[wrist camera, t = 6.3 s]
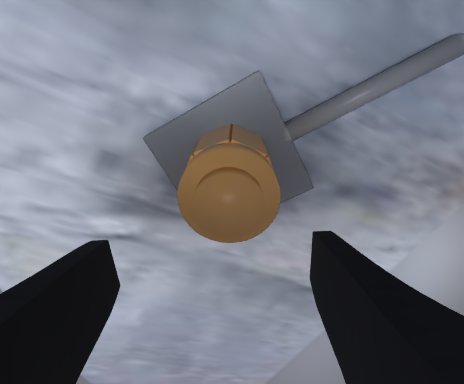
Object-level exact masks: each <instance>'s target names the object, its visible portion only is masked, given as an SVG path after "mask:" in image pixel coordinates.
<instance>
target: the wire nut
mask: <svg viewBox="0 0 464 384" xmlns="http://www.w3.org/2000/svg"><path fill="white" fill-rule="evenodd" d="M178 205H179V208H180V211H181V213H182V216H183V217H184V219H185V221H186V222H187V223H188V224H189V226H190V227H191V228H192V229H193V230H195V231H196V232H197V233H199V234H200V235H202V236H204V237H206V238H208V239H211V240H214V241H218V242H224V243H235V242H242V241H245V240H248V239H251V238H253V237H255V236H257V235H259V234H260V233H262V232H263V231H264V230H265V229H266V228H268V226H269V225H270V224H271V223H272V221H273V220H274V218H275V216H276V214H277V212H278V209H279V205H280V186H279V184H278V181H277V178H276V175H275V172H274V169H273V167H272V164H271V161H270V158H269V155H268V152H267V150H266V147H265V144H264V141H263V138H261V136H260V135H258V134H256V133H253V132H251V131H249V130H247V129H244V128H242V127H240V126H238V125H235V124H233V125H232V127H231V124H228V125H225V126H223V127H220V128H218V129H215V130H213V131H210V132H208V133H205V134H203V135H202V137H200V139H199V141H198V143H197V145H196V147H195V148H194V150H193V152H192V154H191V156H190V159H189V162H188V164H187V167H186V169H185V171H184V173H183V176H182V178H181V180H180V183H179V186H178Z"/></svg>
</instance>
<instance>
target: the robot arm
mask: <svg viewBox="0 0 464 384" xmlns="http://www.w3.org/2000/svg"><path fill="white" fill-rule="evenodd" d="M310 282H311V286H312V290H313V294H314V298H315V302H316V306H317V308H318V311H319V314H320V316H321V319H322V322H323V324H324V327H325V330H326V332H327V335H328V337H329V340H330V342H331V345H332V348H333V350H334V353H335V355H336V358H337V360H338V363H339V366H340V368H341V371H342V373H343V376H344V379H345V383H346V384H464V316H463V315H461V314H459V313H457V312H455V311H453V310H451V309H449V308H447V307H446V306H443V305H442V304H440V303H438V302H437V301H435V300H433V299H431V298H429V297H427V296H426V295H424V294H422V293H420V292H419V291H417V290H415V289H414V288H412V287H410V286H408V285H407V284H405V283H404V282H402V281H401V280H399V279H397V278H396V277H395V276H393V275H391V274H390V273H388V272H387V271H385V270H384V269H383V268H381V267H380V266H378V265H377V264H375V263H374V262H372V261H371V260H370V259H368V258H367V257H366V256H364V255H363V254H361V253H360V252H359V251H357V250H356V249H355V248H353V247H352V246H351V245H349V244H348V243H347V242H345V241H344V240H343V239H342V238H340V237H339V236H338V235H336V234H335V233H333V232H332V231H314V232H313V238H312V253H311V268H310ZM119 288H120V282H119V279H118V275H117V271H116V268H115V264H114V260H113V257H112V253H111V249H110V245H109V242H108V240H98V241H90V242H88V243H86V244H84V245H82V246H80V247H78V248H77V249H75V250H73V251H72V252H70V253H68V254H67V255H65V256H63V257H62V258H60V259H59V260H57V261H55V262H54V263H52V264H50V265H49V266H47V267H46V268H44V269H42V270H41V271H39V272H37V273H36V274H34V275H32V276H31V277H29V278H27V279H26V280H24V281H22V282H20V283H19V284H17V285H15V286H13V287H12V288H10V289H8V290H7V291H5V292H3V293H1V294H0V384H76V382H77V380H78V378H79V376H80V374H81V372H82V370H83V368H84V366H85V364H86V362H87V360H88V358H89V356H90V354H91V352H92V350H93V348H94V346H95V344H96V342H97V340H98V338H99V336H100V334H101V332H102V330H103V328H104V326H105V324H106V322H107V320H108V318H109V316H110V314H111V312H112V309H113V306H114V303H115V301H116V298H117V295H118V291H119Z"/></svg>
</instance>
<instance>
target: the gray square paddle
mask: <svg viewBox="0 0 464 384" xmlns="http://www.w3.org/2000/svg"><path fill="white" fill-rule="evenodd" d="M463 54H464V33H458V34H454V35H452V36H450V37H448V38H446V39H445V40H443V41H441V42H439V43H437V44H435V45H433V46H431V47H429V48H427V49H425V50H424V51H422V52H420V53H418V54H416V55H414V56H412V57H410V58H408V59H406V60H404V61H402V62H401V63H399V64H397V65H395V66H393V67H391V68H389V69H387V70H385V71H383V72H381V73H380V74H378V75H376V76H374V77H372V78H370V79H368V80H366V81H364V82H362V83H360V84H359V85H357V86H355V87H353V88H351V89H349V90H347V91H345V92H343V93H341V94H339V95H338V96H336V97H334V98H332V99H330V100H328V101H326V102H324V103H322V104H320V105H318V106H317V107H315V108H313V109H311V110H309V111H307V112H305V113H303V114H301V115H299V116H297V117H295V118H294V119H292V120H290V121H288V122H286V123H284V122H283V120H282V118H281V115H280V113H279V111H278V109H277V107H276V105H275V102H274V100H273V98H272V96H271V94H270V92H269V90H268V87H267V85H266V83H265V81H264V79H263V77H262V74H261V72H260V71H259V70H258V71H257V72H255V73H253V74H251V75H250V76H248V77H246V78H244V79H243V80H241V81H239V82H238V83H236V84H234V85H232V86H231V87H229V88H227V89H225V90H224V91H222V92H220V93H218V94H217V95H215V96H213V97H212V98H210V99H208V100H206V101H205V102H203V103H201V104H199V105H198V106H196V107H194V108H192V109H191V110H189V111H187V112H186V113H184V114H182V115H180V116H179V117H177V118H175V119H173V120H172V121H170V122H168V123H166V124H165V125H163V126H161V127H159V128H158V129H156V130H154V131H153V132H151V133H149V134H147V135H146V136H145V137H143V140H144V141H145V143H146V144H147V146H148V147H149V149H150V150H151V152H152V153H153V155H154V156H155V158H156V159H157V161H158V162H159V164H160V165H161V167H162V168H163V170H164V171H165V173H166V174H167V176H168V177H169V179H170V180H171V182H172V183H173V185H174V186H175V188H176V189H177V190H178V186H179V183H180V180H181V178H182V176H183V173H184V171H185V169H186V167H187V164H188V162H189V159H190V156H191V154H192V152H193V150H194V148H195V147H196V145H197V143H198V141H199V139H200V137H202V135H203V134H205V133H208V132H210V131H213V130H215V129H218V128H220V127H223V126H225V125H228V124H231V127H232V125H233V124H235V125H238V126H240V127H242V128H244V129H247V130H249V131H251V132H253V133H256V134H258V135H260V136H261V138H263V141H264V144H265V147H266V150H267V152H268V155H269V158H270V161H271V164H272V167H273V169H274V172H275V175H276V178H277V181H278V184H279V186H280V203H282V202H284V201H286V200H289V199H291V198H293V197H295V196H297V195H299V194H302V193H304V192H306V191H308V190H310V189H312V188H314V187H313V184H312V182H311V180H310V178H309V176H308V174H307V172H306V169H305V167H304V165H303V163H302V161H301V159H300V156H299V154H298V152H297V150H296V148H295V146H294V143H293V141H294V140H296V139H298V138H300V137H302V136H304V135H306V134H308V133H310V132H311V131H313V130H315V129H317V128H319V127H321V126H323V125H325V124H327V123H329V122H331V121H333V120H335V119H337V118H339V117H341V116H343V115H345V114H347V113H349V112H351V111H353V110H355V109H357V108H359V107H361V106H363V105H365V104H367V103H369V102H371V101H373V100H375V99H377V98H379V97H381V96H383V95H385V94H387V93H389V92H391V91H393V90H394V89H396V88H398V87H400V86H402V85H404V84H406V83H408V82H410V81H412V80H414V79H416V78H418V77H420V76H422V75H424V74H426V73H428V72H430V71H432V70H434V69H436V68H438V67H440V66H442V65H444V64H446V63H448V62H450V61H452V60H454V59H456V58H458V57H460V56H462V55H463Z"/></svg>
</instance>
